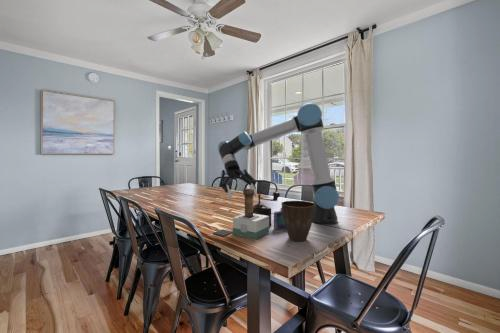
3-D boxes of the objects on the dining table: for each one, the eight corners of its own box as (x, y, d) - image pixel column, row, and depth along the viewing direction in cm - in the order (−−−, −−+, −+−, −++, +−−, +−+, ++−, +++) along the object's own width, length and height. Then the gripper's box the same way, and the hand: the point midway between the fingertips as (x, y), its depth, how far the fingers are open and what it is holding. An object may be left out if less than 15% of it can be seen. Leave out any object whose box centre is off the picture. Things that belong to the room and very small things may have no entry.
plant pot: (291, 231, 121) (291, 199, 120) (320, 237, 111) (320, 203, 110) (274, 239, 109) (275, 204, 108) (305, 247, 100) (305, 208, 99)
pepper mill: (253, 228, 126) (253, 193, 126) (247, 222, 137) (247, 190, 136) (281, 225, 131) (281, 192, 130) (273, 220, 142) (273, 189, 141)
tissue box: (269, 232, 120) (269, 214, 119) (255, 239, 109) (255, 220, 109) (247, 227, 127) (247, 211, 126) (232, 234, 116) (232, 216, 116)
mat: (233, 232, 119) (233, 231, 119) (223, 236, 113) (223, 235, 113) (222, 230, 123) (222, 229, 123) (212, 234, 117) (212, 232, 117)
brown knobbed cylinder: (256, 227, 117) (256, 189, 116) (250, 230, 113) (250, 190, 112) (247, 225, 120) (247, 188, 119) (241, 228, 116) (241, 189, 115)
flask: (274, 230, 123) (275, 209, 122) (272, 228, 126) (272, 207, 125) (291, 228, 126) (291, 207, 125) (288, 226, 129) (288, 206, 128)
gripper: (249, 168, 140) (262, 198, 128) (207, 169, 129) (217, 202, 116) (253, 159, 135) (267, 189, 123) (210, 159, 124) (221, 193, 111)
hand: (243, 196), depth 119 cm, fingers open, 13 cm apart
